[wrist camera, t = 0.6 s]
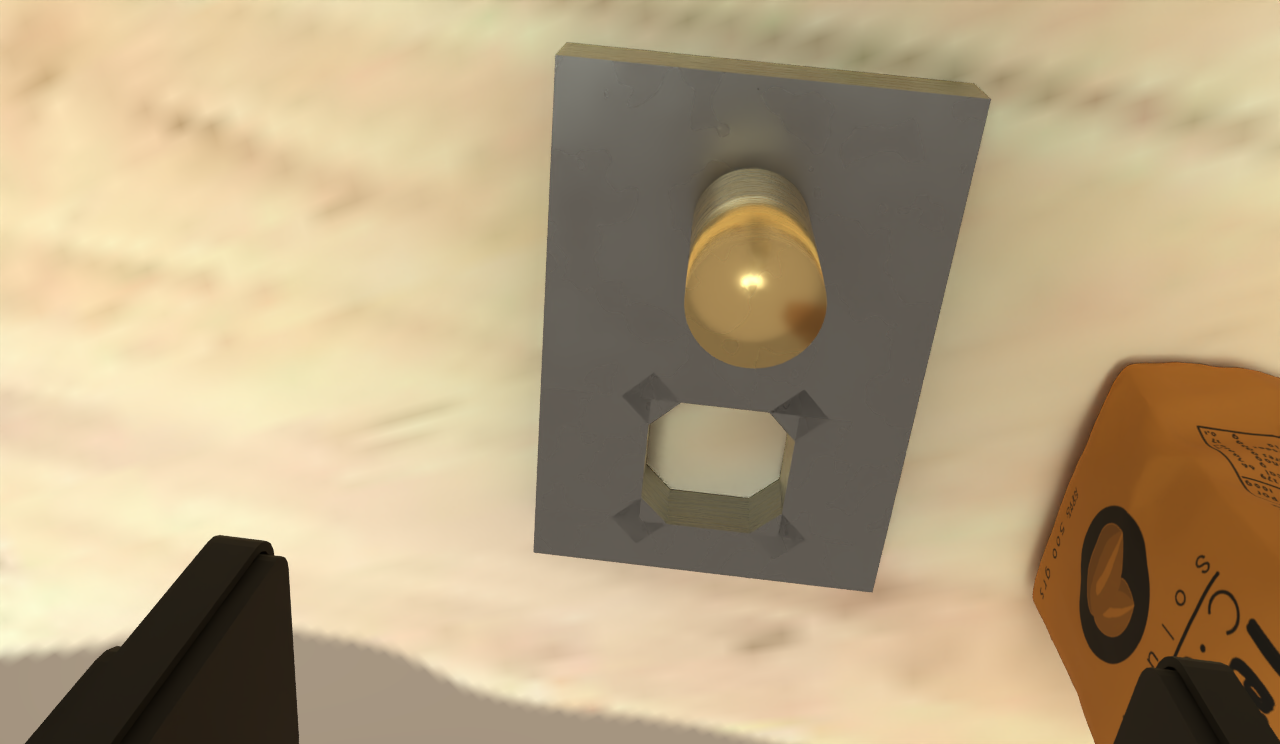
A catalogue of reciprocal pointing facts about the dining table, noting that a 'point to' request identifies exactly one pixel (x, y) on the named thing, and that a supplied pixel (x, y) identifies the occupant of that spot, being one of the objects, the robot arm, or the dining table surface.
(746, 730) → the dining table surface
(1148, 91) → the dining table surface
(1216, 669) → the robot arm
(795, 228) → the brass cylinder peg
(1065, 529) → the coffee package
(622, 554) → the jig
